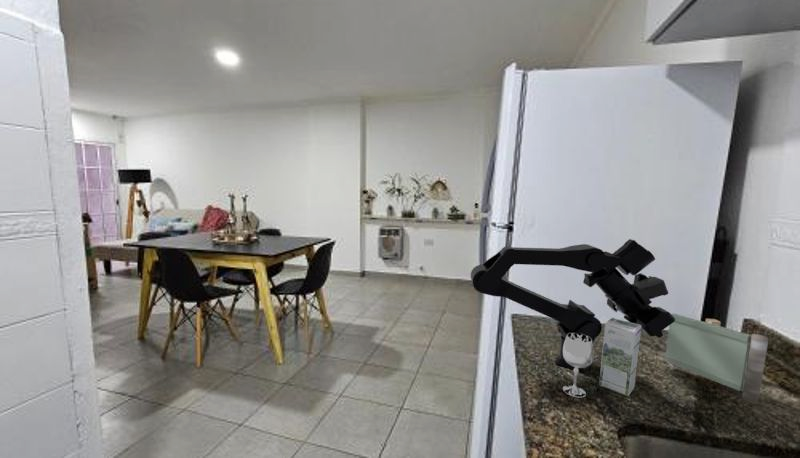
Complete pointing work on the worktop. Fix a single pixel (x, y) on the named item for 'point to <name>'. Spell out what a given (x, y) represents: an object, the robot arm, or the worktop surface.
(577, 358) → the wineglass
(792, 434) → the worktop surface
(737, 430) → the worktop surface
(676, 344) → the pale green flat block
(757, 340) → the frame
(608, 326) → the syrup box
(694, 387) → the worktop surface
